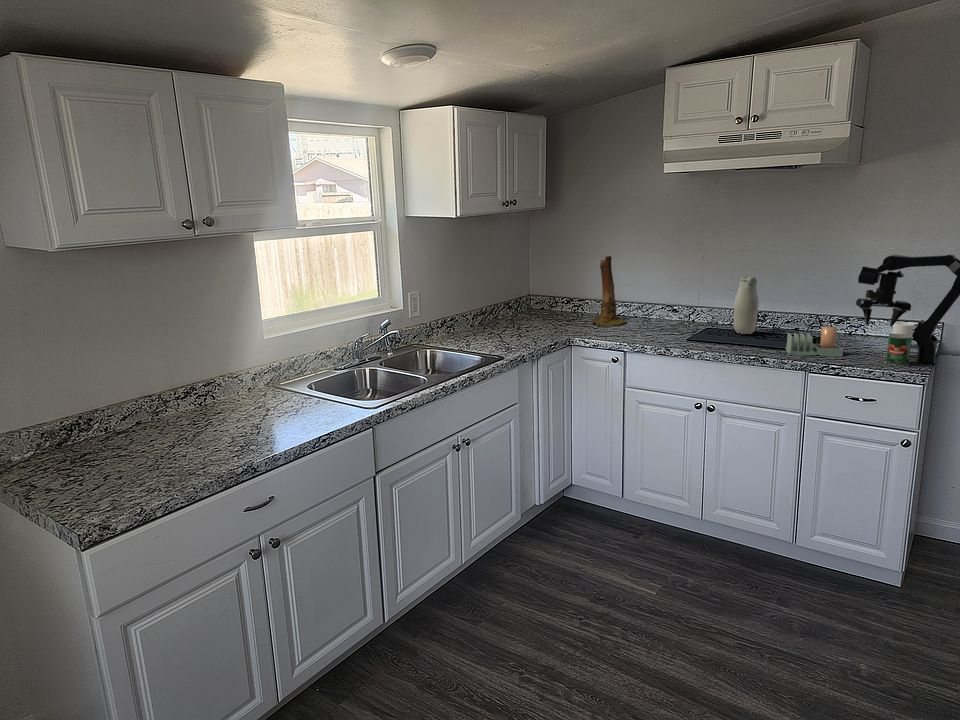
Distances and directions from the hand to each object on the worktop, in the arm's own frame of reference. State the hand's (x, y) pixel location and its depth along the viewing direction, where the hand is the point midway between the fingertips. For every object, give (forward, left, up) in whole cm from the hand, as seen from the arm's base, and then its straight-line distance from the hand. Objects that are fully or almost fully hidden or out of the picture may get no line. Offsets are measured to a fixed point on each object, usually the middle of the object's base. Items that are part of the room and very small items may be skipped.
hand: (878, 325), depth 277 cm
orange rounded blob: (+2, +18, -13) cm, 22 cm away
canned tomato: (-12, -4, -13) cm, 18 cm away
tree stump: (+61, +111, -13) cm, 127 cm away
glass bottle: (+39, +46, -13) cm, 61 cm away
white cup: (+20, -15, -13) cm, 28 cm away
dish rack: (+2, +23, -13) cm, 26 cm away
